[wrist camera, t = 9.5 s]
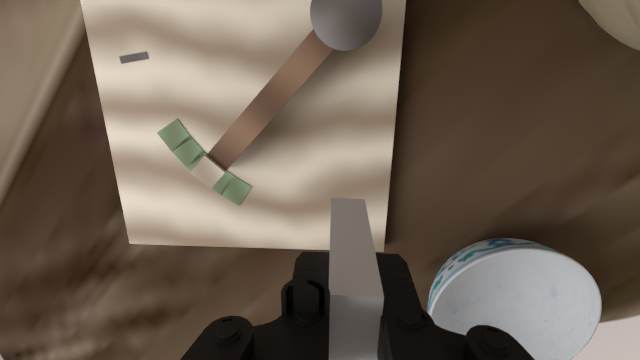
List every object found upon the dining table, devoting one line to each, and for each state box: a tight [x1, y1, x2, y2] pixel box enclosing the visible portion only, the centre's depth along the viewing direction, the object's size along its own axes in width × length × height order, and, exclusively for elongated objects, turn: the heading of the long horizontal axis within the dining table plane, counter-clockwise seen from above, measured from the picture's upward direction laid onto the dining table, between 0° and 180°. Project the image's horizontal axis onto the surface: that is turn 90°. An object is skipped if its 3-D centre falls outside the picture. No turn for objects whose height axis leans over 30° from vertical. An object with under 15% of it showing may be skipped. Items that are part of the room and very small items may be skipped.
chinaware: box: [427, 238, 602, 360], centre depth 35 cm, size 15×15×8 cm
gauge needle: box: [190, 0, 382, 189], centre depth 28 cm, size 19×5×6 cm, turn 137°
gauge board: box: [80, 0, 406, 252], centre depth 33 cm, size 27×27×2 cm
